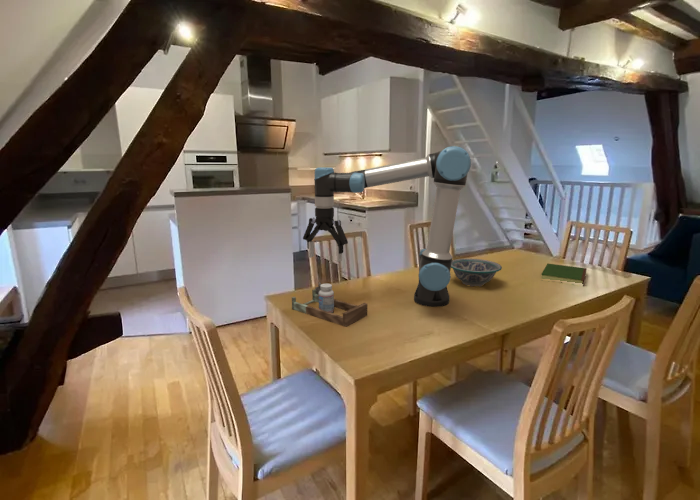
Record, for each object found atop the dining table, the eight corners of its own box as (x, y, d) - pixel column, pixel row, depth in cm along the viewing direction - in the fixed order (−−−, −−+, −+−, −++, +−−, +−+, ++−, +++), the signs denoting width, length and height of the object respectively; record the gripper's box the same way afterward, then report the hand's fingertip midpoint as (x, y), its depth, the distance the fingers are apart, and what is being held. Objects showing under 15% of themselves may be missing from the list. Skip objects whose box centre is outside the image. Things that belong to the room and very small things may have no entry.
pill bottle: (318, 309, 163) (318, 283, 161) (333, 308, 164) (333, 282, 161) (319, 314, 157) (318, 287, 155) (334, 314, 158) (334, 287, 155)
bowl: (443, 287, 189) (444, 268, 187) (451, 274, 212) (452, 256, 210) (499, 294, 180) (501, 274, 178) (501, 279, 203) (502, 261, 200)
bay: (374, 311, 160) (374, 294, 158) (346, 326, 146) (345, 307, 144) (319, 296, 178) (319, 280, 176) (289, 308, 164) (289, 291, 162)
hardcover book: (583, 287, 191) (584, 280, 190) (540, 281, 201) (541, 274, 200) (585, 274, 211) (586, 268, 210) (546, 269, 221) (547, 263, 220)
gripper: (356, 208, 154) (356, 260, 159) (304, 204, 167) (306, 253, 171) (346, 210, 148) (346, 265, 153) (293, 206, 160) (295, 256, 165)
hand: (325, 259), depth 162 cm, fingers open, 13 cm apart
